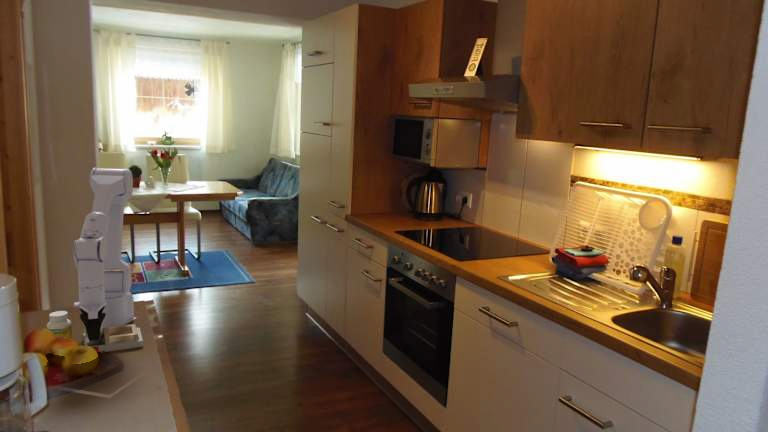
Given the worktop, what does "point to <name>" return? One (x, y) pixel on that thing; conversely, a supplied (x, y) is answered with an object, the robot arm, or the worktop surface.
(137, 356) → the worktop surface
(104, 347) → the bay
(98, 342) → the handle peg
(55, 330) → the supplement bottle
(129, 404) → the worktop surface
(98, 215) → the robot arm
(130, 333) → the crate
